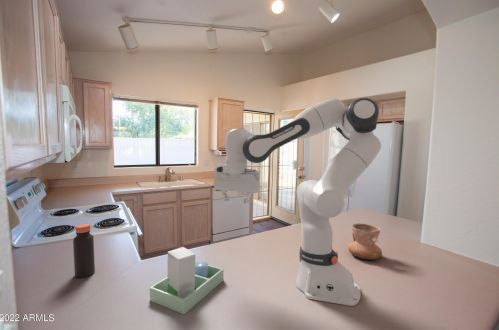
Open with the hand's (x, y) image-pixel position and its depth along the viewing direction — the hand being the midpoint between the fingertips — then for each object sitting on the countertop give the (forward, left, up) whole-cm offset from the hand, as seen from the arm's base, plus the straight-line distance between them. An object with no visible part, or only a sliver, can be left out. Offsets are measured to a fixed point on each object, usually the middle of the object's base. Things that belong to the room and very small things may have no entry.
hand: (236, 202), depth 101 cm
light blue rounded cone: (+8, +13, -29) cm, 33 cm away
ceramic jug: (-47, -41, -29) cm, 69 cm away
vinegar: (+53, +31, -29) cm, 68 cm away
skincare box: (+8, +24, -29) cm, 39 cm away
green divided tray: (+8, +20, -29) cm, 36 cm away
